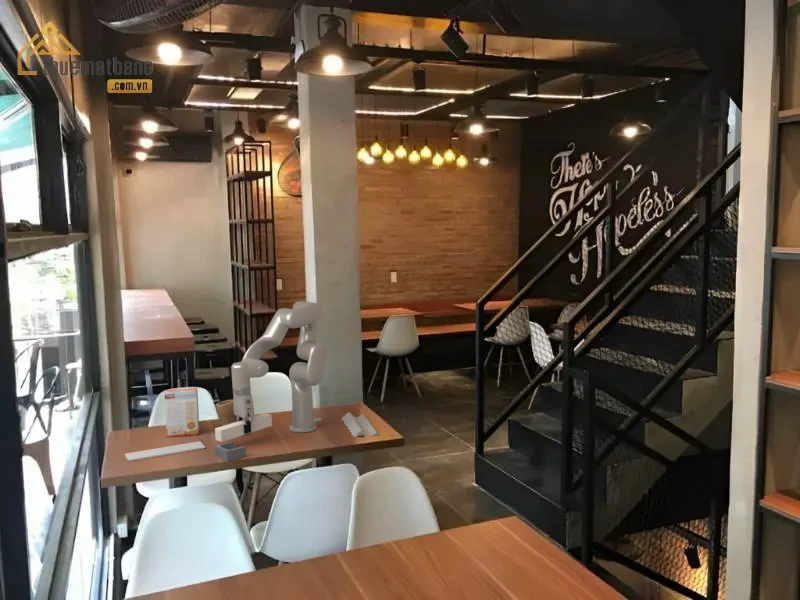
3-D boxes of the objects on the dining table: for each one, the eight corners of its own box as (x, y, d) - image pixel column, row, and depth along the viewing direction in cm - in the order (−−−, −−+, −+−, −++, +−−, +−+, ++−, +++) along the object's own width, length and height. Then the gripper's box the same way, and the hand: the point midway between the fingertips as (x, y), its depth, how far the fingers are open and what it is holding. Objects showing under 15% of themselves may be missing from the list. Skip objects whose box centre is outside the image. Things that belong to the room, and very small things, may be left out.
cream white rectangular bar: (266, 423, 298) (265, 413, 297) (272, 425, 295) (271, 415, 294) (215, 439, 279) (214, 428, 278) (221, 441, 276) (220, 430, 275)
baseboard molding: (123, 455, 276) (128, 463, 265) (123, 448, 275) (127, 456, 265) (198, 442, 291) (205, 450, 281) (198, 436, 291) (205, 443, 281)
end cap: (232, 450, 279) (232, 441, 279) (245, 456, 271) (245, 446, 271) (214, 455, 273) (214, 445, 273) (227, 461, 266) (226, 451, 265)
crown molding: (378, 437, 298) (378, 429, 298) (352, 439, 295) (352, 431, 295) (364, 418, 328) (364, 410, 328) (341, 420, 325) (340, 412, 325)
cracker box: (199, 431, 306) (197, 387, 304) (198, 435, 300) (196, 390, 298) (167, 433, 303) (166, 389, 301) (166, 437, 297) (164, 392, 295)
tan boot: (214, 430, 308) (213, 398, 307) (240, 426, 313) (239, 395, 312) (220, 439, 295) (219, 406, 293) (247, 435, 300) (246, 403, 298)
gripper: (259, 392, 281) (262, 433, 283) (239, 386, 293) (242, 425, 295) (244, 396, 276) (247, 438, 278) (224, 389, 288) (227, 429, 290)
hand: (244, 431), depth 287 cm, fingers closed on cream white rectangular bar, 4 cm apart
